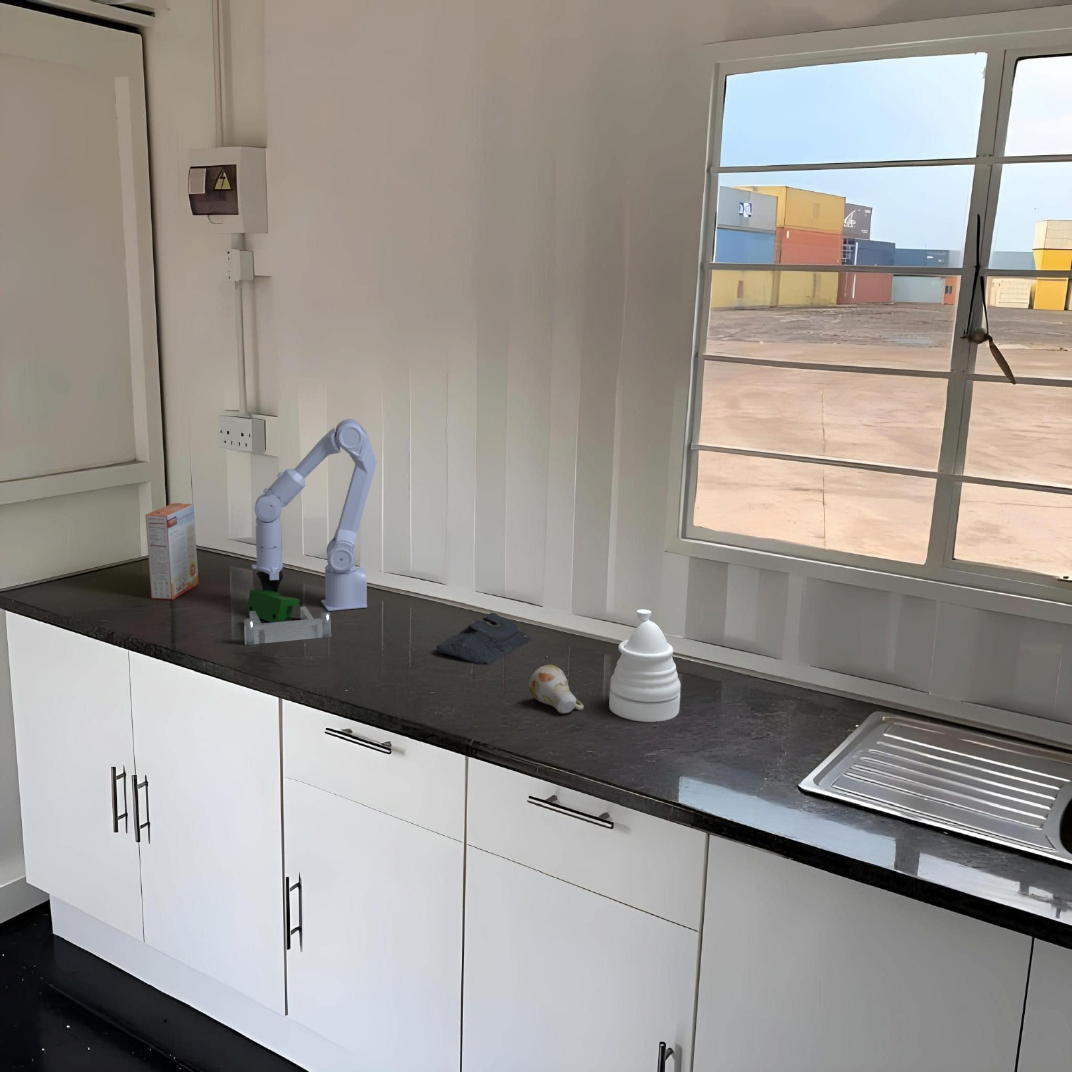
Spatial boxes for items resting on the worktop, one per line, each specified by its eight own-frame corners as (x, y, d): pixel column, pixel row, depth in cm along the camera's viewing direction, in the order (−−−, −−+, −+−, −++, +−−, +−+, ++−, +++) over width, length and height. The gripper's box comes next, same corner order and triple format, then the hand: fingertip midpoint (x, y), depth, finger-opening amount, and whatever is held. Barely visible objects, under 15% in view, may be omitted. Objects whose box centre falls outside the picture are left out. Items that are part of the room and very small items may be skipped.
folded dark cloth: (423, 656, 216) (423, 634, 215) (475, 627, 235) (475, 607, 234) (488, 669, 209) (488, 647, 208) (536, 639, 229) (536, 618, 227)
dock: (318, 617, 237) (317, 596, 236) (331, 637, 224) (331, 614, 223) (237, 625, 230) (236, 602, 229) (245, 645, 217) (244, 621, 216)
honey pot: (597, 699, 194) (601, 607, 190) (656, 691, 199) (662, 601, 195) (629, 726, 183) (635, 628, 178) (692, 716, 188) (699, 621, 184)
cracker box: (176, 583, 261) (172, 502, 256) (199, 585, 260) (195, 503, 255) (148, 599, 247) (144, 513, 243) (172, 600, 246) (168, 514, 242)
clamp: (289, 637, 236) (306, 604, 234) (268, 637, 231) (285, 604, 229) (263, 607, 243) (278, 575, 240) (242, 606, 238) (258, 573, 235)
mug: (557, 722, 184) (535, 670, 185) (539, 725, 193) (518, 675, 194) (592, 706, 187) (571, 654, 188) (573, 710, 196) (552, 661, 197)
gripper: (247, 539, 245) (249, 595, 248) (255, 554, 232) (257, 612, 235) (277, 538, 248) (279, 592, 251) (287, 552, 235) (288, 609, 238)
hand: (270, 602), depth 243 cm, fingers closed
